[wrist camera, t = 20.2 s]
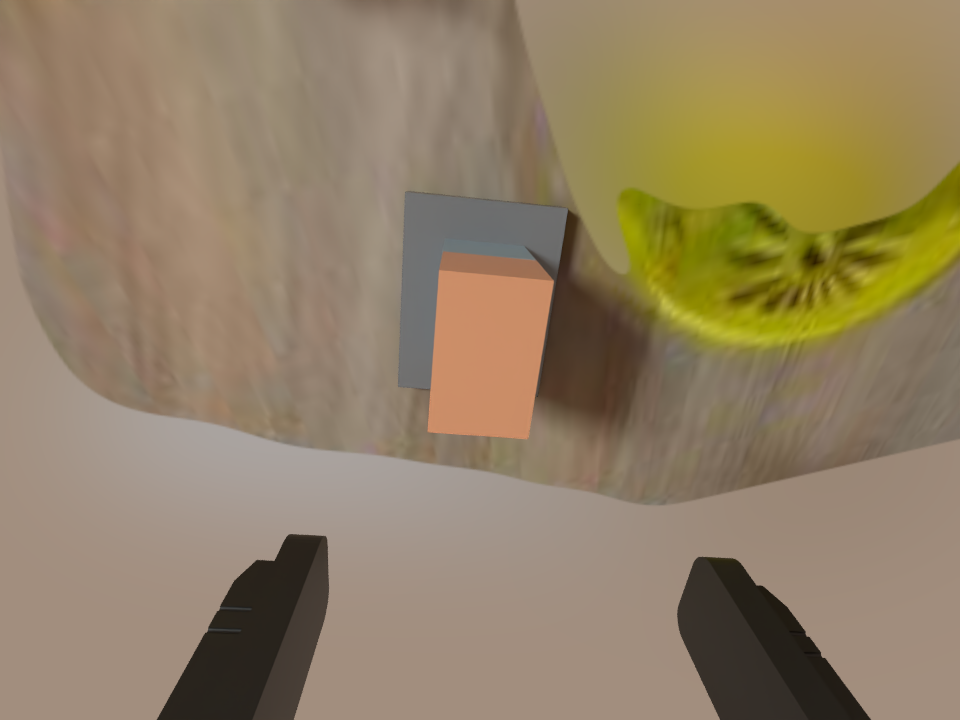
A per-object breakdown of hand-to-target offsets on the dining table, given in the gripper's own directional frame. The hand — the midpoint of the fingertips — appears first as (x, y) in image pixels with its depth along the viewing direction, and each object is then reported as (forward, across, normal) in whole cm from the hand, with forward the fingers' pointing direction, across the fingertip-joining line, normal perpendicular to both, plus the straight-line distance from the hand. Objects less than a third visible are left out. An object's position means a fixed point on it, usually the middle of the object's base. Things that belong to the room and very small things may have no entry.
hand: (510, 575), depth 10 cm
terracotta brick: (+17, 0, 0) cm, 17 cm away
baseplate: (+24, 0, 0) cm, 24 cm away
